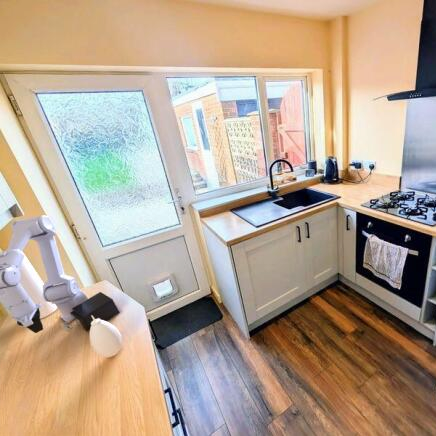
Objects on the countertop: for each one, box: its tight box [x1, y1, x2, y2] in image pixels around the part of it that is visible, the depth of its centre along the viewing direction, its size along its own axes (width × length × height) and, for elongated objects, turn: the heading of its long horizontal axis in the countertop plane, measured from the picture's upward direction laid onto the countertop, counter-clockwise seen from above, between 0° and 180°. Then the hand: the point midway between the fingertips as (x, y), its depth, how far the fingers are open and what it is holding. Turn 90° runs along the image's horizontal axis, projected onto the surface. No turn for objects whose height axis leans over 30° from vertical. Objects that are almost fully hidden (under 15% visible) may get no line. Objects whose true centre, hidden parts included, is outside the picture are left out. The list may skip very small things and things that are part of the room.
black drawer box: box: [72, 291, 120, 328], centre depth 101 cm, size 11×11×8 cm
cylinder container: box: [19, 251, 58, 320], centre depth 103 cm, size 9×9×30 cm
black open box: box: [60, 311, 90, 333], centre depth 98 cm, size 14×9×6 cm
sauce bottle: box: [89, 316, 123, 358], centre depth 82 cm, size 8×8×18 cm
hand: (39, 330), depth 87 cm, fingers closed
